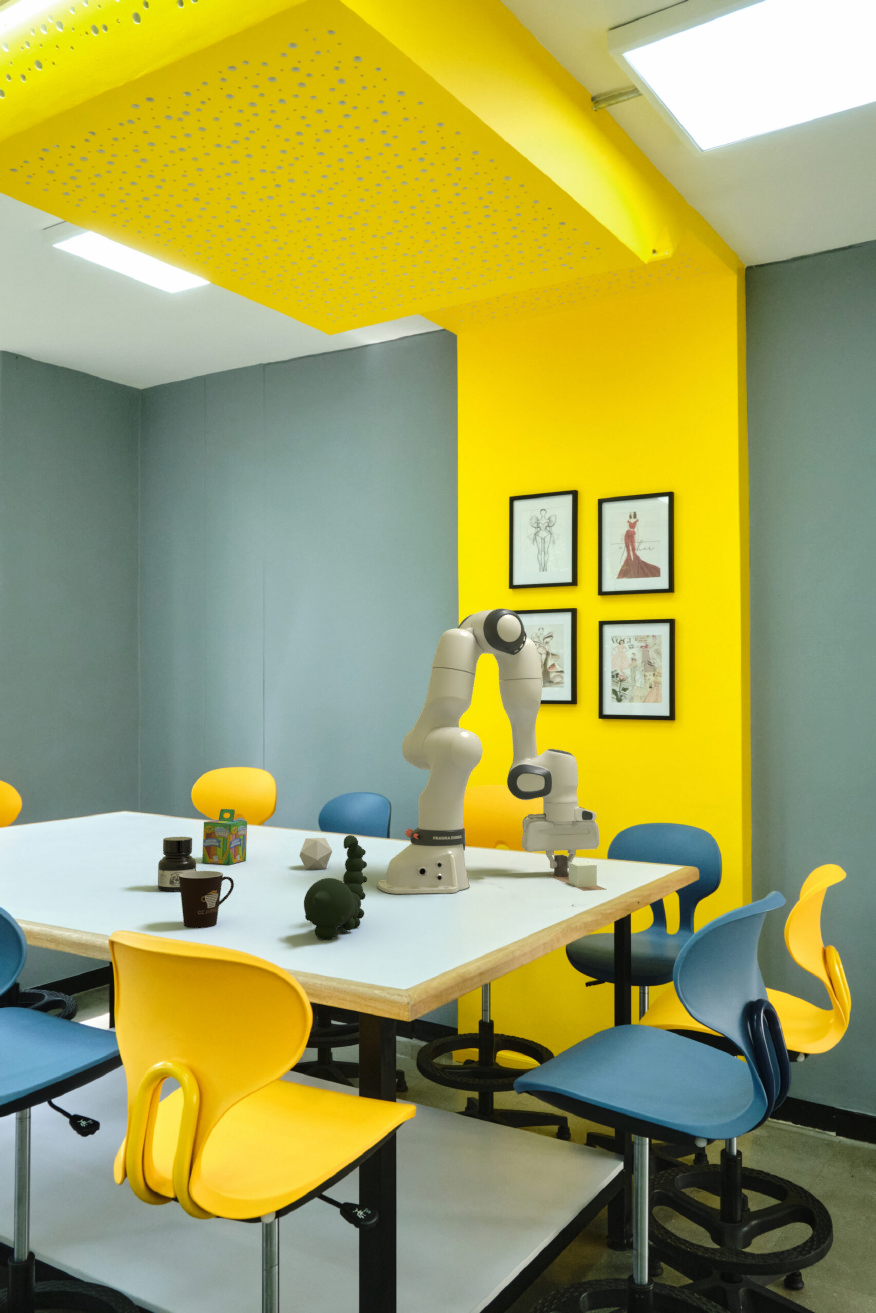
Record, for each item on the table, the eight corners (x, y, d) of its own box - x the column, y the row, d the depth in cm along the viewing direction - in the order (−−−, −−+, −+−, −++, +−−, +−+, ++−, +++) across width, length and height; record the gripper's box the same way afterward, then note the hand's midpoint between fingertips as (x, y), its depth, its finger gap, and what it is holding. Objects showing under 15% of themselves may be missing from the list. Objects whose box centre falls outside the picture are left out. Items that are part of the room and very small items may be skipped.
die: (321, 874, 258) (340, 842, 263) (292, 857, 259) (312, 825, 263) (319, 880, 266) (337, 849, 270) (291, 864, 266) (310, 833, 271)
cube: (577, 886, 232) (577, 865, 232) (568, 883, 236) (568, 862, 237) (596, 885, 233) (596, 864, 233) (587, 882, 238) (587, 861, 238)
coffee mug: (181, 931, 190) (182, 879, 190) (175, 922, 197) (175, 872, 198) (241, 925, 194) (241, 875, 195) (232, 917, 202) (233, 868, 203)
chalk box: (201, 863, 271) (202, 810, 272) (219, 858, 280) (220, 807, 281) (230, 865, 268) (230, 811, 269) (247, 860, 277) (248, 808, 278)
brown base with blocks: (583, 894, 227) (583, 868, 227) (546, 878, 248) (546, 855, 249) (607, 893, 229) (606, 867, 229) (568, 877, 250) (568, 854, 250)
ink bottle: (154, 892, 228) (155, 841, 229) (157, 886, 237) (158, 836, 238) (197, 891, 230) (197, 840, 231) (198, 884, 239) (199, 835, 240)
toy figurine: (333, 925, 202) (288, 942, 178) (337, 833, 205) (293, 837, 181) (377, 928, 200) (337, 945, 176) (380, 834, 203) (341, 839, 179)
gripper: (527, 815, 242) (527, 871, 241) (602, 813, 248) (602, 868, 247) (518, 812, 248) (518, 867, 247) (591, 810, 254) (591, 864, 253)
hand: (560, 867), depth 247 cm, fingers closed on brown base with blocks, 2 cm apart
